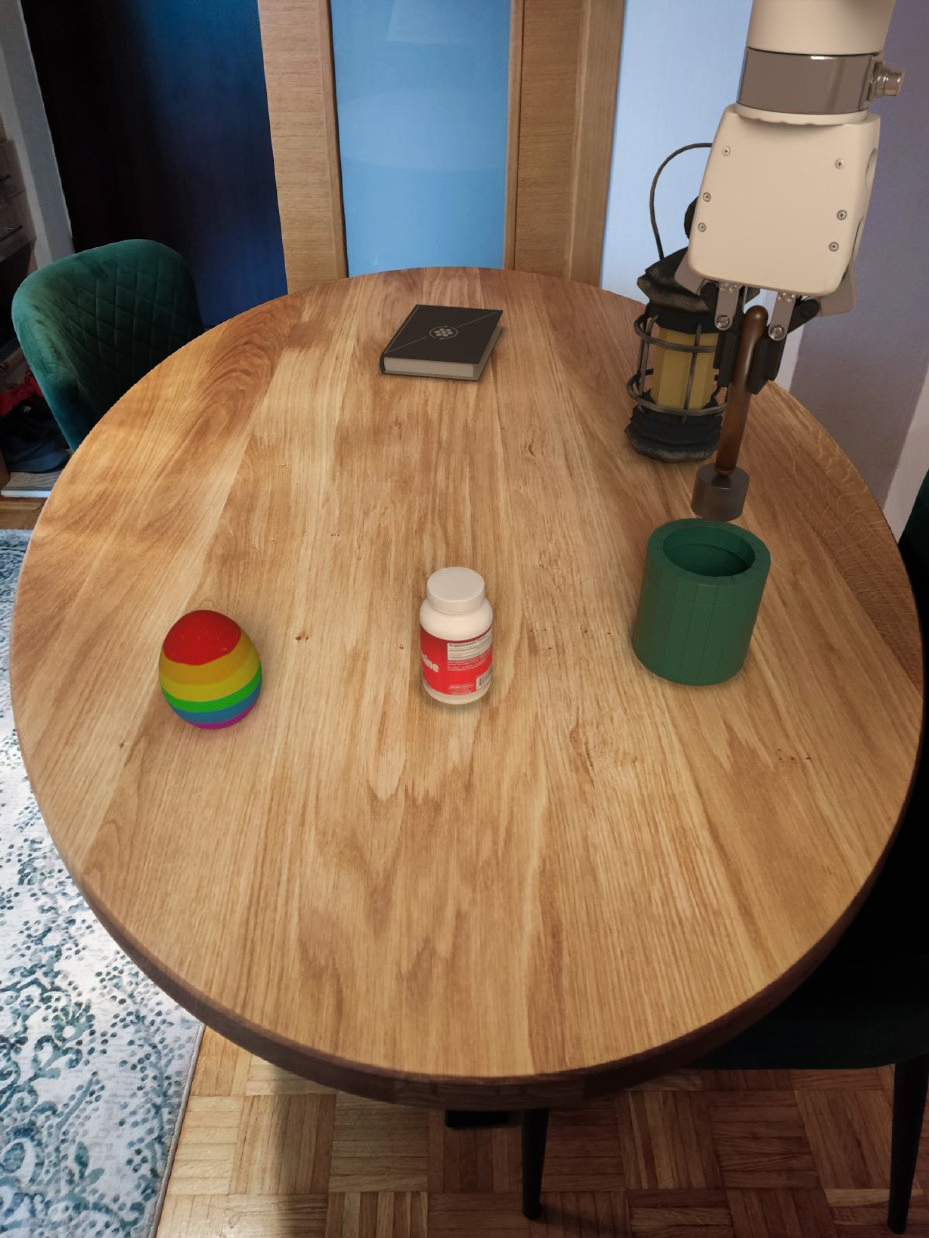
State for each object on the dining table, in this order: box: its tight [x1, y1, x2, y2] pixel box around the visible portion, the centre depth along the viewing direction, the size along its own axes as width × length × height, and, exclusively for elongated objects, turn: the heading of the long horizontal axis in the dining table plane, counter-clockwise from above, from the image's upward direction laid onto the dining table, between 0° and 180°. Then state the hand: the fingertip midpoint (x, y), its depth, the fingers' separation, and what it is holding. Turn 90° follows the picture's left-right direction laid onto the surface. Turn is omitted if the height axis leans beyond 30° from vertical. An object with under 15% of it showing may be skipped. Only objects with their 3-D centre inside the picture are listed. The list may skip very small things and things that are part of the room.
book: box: [378, 303, 504, 383], centre depth 136 cm, size 22×15×3 cm
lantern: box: [623, 142, 761, 464], centre depth 101 cm, size 14×13×35 cm
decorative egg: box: [158, 609, 263, 730], centre depth 72 cm, size 8×8×10 cm
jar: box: [632, 517, 772, 687], centre depth 78 cm, size 10×10×11 cm
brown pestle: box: [689, 304, 770, 522], centre depth 64 cm, size 4×4×16 cm
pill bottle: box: [418, 566, 494, 705], centre depth 74 cm, size 6×6×11 cm
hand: (742, 382), depth 63 cm, fingers closed on brown pestle, 1 cm apart
